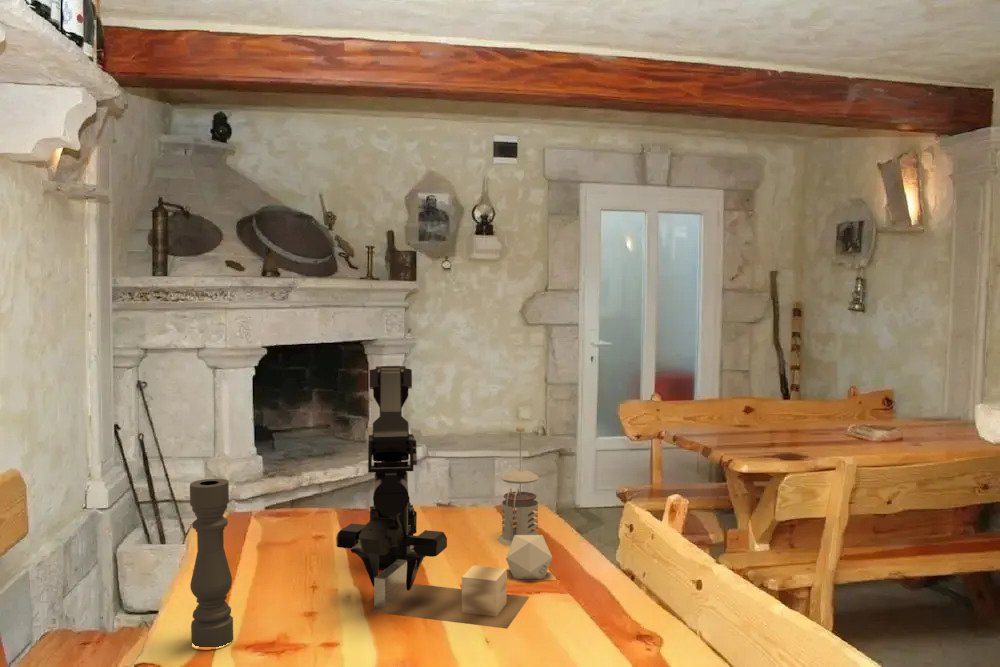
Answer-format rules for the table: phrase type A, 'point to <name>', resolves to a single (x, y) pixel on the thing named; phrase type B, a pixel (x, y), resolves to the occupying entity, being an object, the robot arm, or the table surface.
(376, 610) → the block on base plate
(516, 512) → the french press
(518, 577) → the die
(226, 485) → the candle holder
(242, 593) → the table surface
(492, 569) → the cube
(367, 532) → the robot arm
